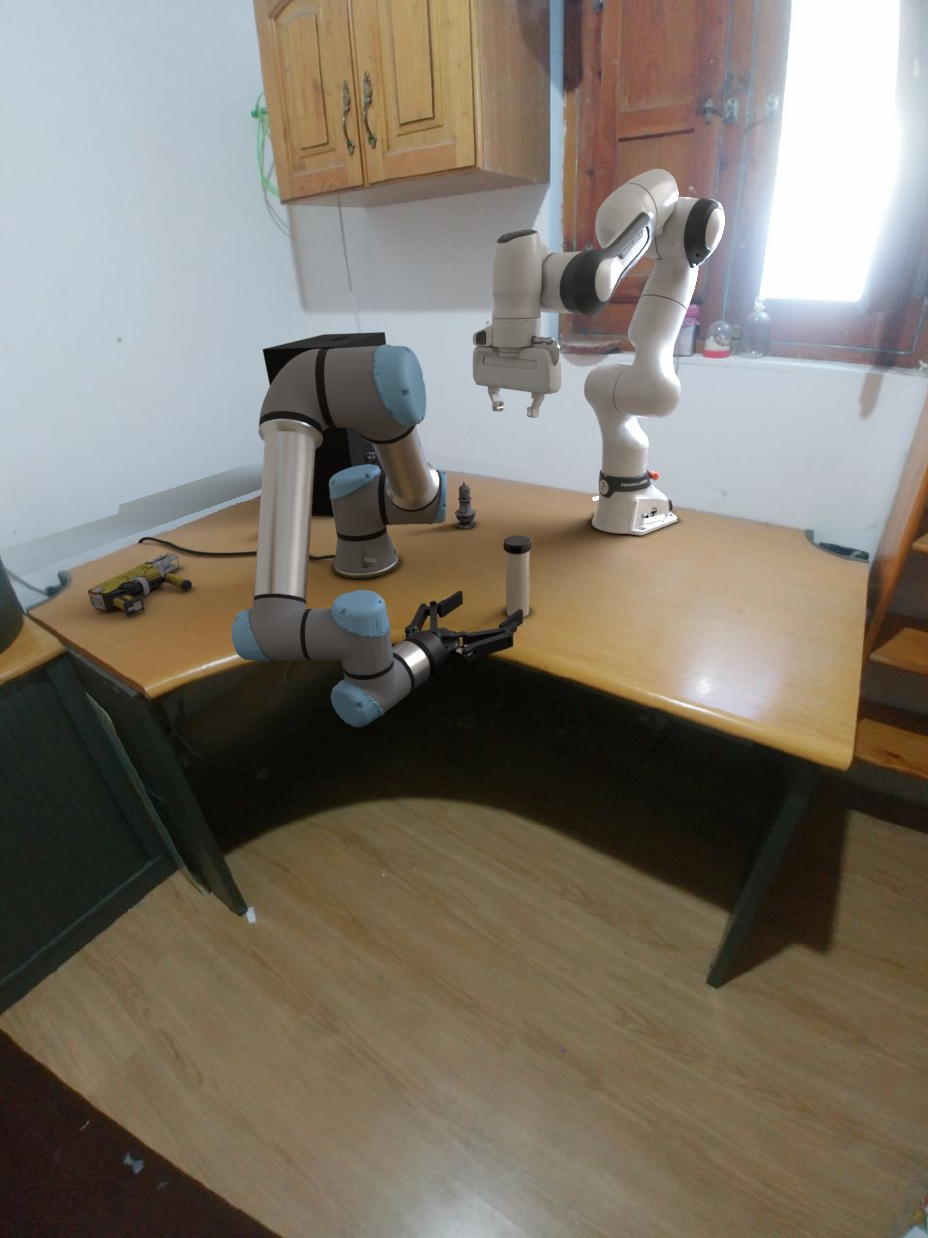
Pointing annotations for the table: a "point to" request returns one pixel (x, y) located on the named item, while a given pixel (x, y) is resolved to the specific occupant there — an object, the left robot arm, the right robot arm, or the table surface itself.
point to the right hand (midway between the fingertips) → (514, 413)
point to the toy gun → (136, 585)
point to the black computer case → (338, 443)
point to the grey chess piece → (465, 508)
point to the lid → (517, 544)
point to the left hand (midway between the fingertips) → (490, 606)
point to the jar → (517, 583)
